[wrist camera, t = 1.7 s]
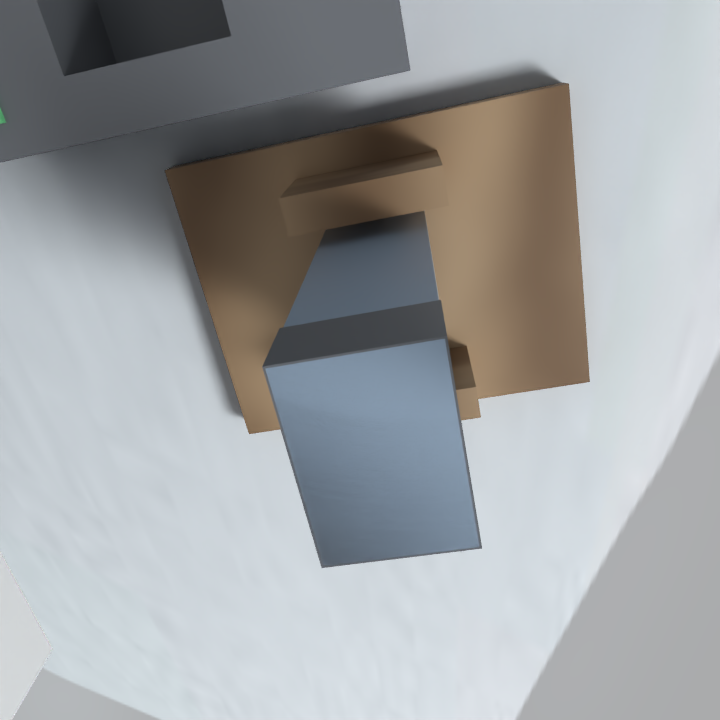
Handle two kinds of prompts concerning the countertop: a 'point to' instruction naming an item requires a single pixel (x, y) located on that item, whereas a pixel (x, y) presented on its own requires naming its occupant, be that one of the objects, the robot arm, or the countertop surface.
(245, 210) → the holster
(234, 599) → the countertop surface
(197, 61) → the port box
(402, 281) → the plug
